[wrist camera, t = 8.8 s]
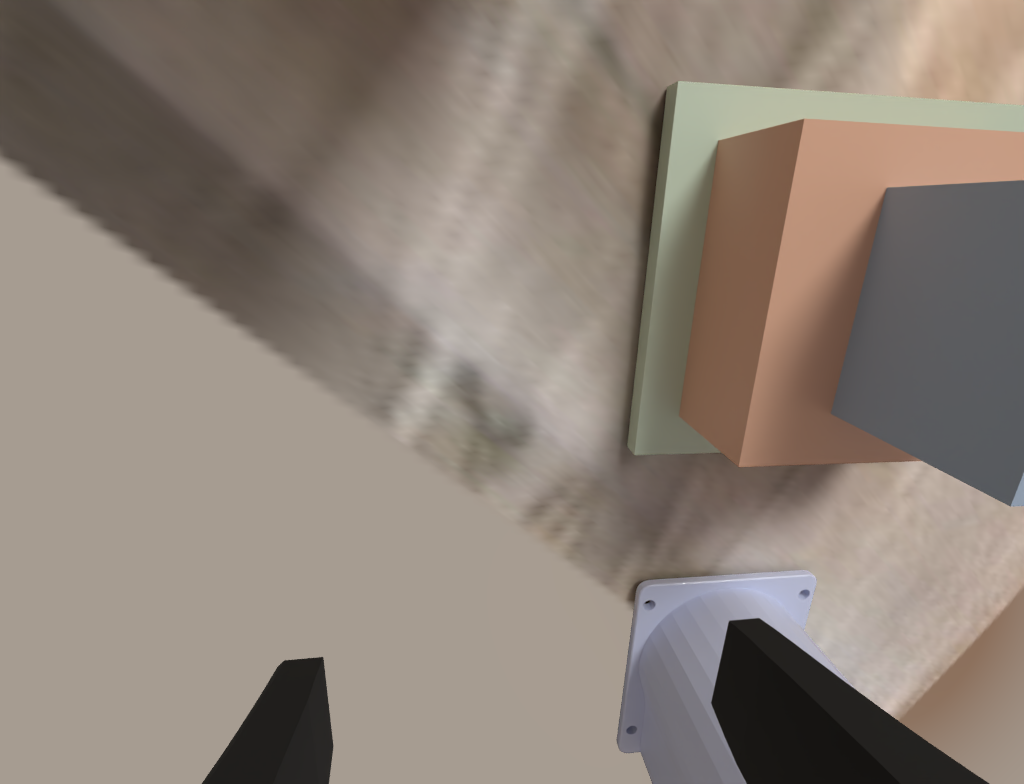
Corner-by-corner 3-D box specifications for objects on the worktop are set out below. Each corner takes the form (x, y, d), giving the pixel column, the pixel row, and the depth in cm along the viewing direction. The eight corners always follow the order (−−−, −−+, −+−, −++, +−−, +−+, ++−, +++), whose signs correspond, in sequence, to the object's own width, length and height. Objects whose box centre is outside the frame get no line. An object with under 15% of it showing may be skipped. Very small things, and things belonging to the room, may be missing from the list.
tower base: (908, 438, 21) (1033, 498, 17) (627, 446, 20) (682, 514, 15) (1006, 110, 18) (1201, 75, 13) (667, 87, 16) (756, 38, 12)
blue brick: (953, 412, 15) (1178, 499, 11) (830, 413, 15) (1010, 506, 10) (1025, 194, 14) (1336, 185, 9) (886, 187, 13) (1140, 173, 8)
